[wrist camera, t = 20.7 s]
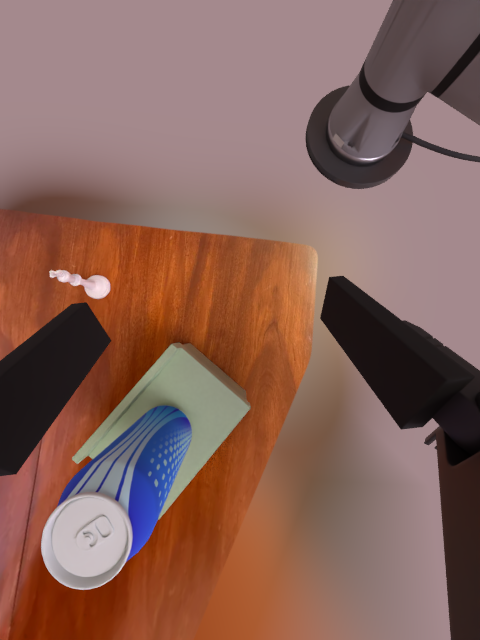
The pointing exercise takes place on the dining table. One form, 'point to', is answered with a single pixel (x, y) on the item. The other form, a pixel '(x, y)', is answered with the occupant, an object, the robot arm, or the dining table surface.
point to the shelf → (188, 396)
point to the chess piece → (85, 283)
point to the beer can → (115, 500)
